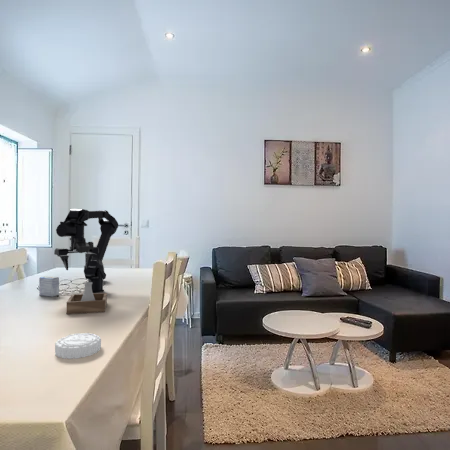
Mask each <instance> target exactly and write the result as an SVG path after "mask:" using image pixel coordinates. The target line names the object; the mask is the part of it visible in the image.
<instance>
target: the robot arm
mask: <svg viewBox="0 0 450 450" xmlns="http://www.w3.org/2000/svg"><path fill="white" fill-rule="evenodd" d="M90 219H98V224H99V225H100V227H99V229H100V236H99V239H98V241H97V244H96V246H95V245H94V242H93V241H88V242H86V238H85V227H88V224H87V223H86V222H87V221H88V220H90ZM118 228H119V223H118V221H117V219H116V218H115V217H114V216H113V215H111V214H110V212H109V211H108V210H105V209H101V210H88V209H83V208H80V209H79V208H71V209H70V210H69V212H68V214H67V215H66V217H65V219H64V220H63V221H62V220H61V221H60V222H59V224H58V225H57V227H56V229H55V231H56V234H57V236H58V237H61V238H65V237H69V241H70V246H69V248H65V247H58V248H57V247H56V248H55V249H54V255H55V256H57V257H60V260H61V261H62V264H63V266H64V267H65V271H69V257H70V255H68V254H77V253H79V254H83V253H84V256H85V260H84V261H85V263H84V264H85V265H84V266H83V267H84V268H83V274H84V278H85V279H86V280H87V282H92V292H93V294H94V293H101V292H104V291H105V289H104V288H103V287H104V280H105V279H106V278H107V274H106V272H105V270H104V271H103V266H104V264H103V263H104V262H103V260H104V257H105V254H106V252H107V248H108V245H109V243H110V240H111V237H112V236H114V234H116V233H117V230H118ZM92 257H93V258H92Z"/></svg>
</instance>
